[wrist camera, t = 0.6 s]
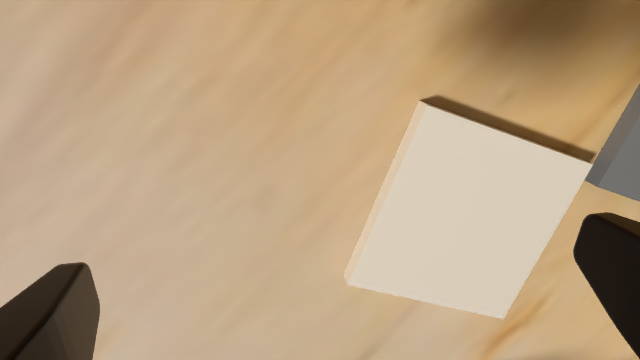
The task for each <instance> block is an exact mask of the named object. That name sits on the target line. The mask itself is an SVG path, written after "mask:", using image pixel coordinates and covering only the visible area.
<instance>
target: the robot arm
mask: <svg viewBox="0 0 640 360" xmlns="http://www.w3.org/2000/svg"><path fill="white" fill-rule="evenodd" d="M573 254H574V259H575V261H576V263H577V265H578V266H579V268H580V270H581V271H582V273H583V274H584V276H585V278H586V279H587V281H588V283H589V284H590V286H591V287H592V289H593V291H594V292H595V294H596V296H597V297H598V299H599V300H600V302H601V304H602V305H603V307H604V308H605V310H606V312H607V313H608V315H609V317H610V318H611V320H612V321H613V323H614V324H615V326H616V327H617V329H618V330H619V332H620V333H621V335H622V336H623V337H624V339H625V340H626V341H627V343H628V344H629V345H630V347H631V348H632V349H633V351H634V352H635V353H636V355H637V356H638V357H639V359H640V222H637V221H634V220H631V219H628V218H625V217H622V216H619V215H616V214H613V213H607V212H606V213H596V214H590V215H588V216H586V217H585V219H584V220H583V222H582V225H581V228H580V231H579V234H578V237H577V240H576V243H575V246H574V249H573ZM99 315H100V304H99V299H98V295H97V291H96V288H95V284H94V281H93V277H92V274H91V270H90V268H89V266H88V265H87V264H86V263H84V262H80V263H69V264H60V265H57V266H56V267H54V268H53V269H52V270H50V271H49V272H48V273H46V274H45V275H44V276H42V277H41V278H40V279H38V280H37V281H36V282H34V283H33V284H32V285H30V286H29V287H28V288H26V289H25V290H24V291H22V292H21V293H20V294H18V295H17V296H15V297H14V298H13V299H11V300H10V301H9V302H7V303H6V304H5V305H3V306H2V307H1V308H0V360H92V359H93V352H94V346H95V340H96V334H97V328H98V322H99Z"/></svg>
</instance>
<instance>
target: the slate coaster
mask: <svg viewBox="0 0 640 360" xmlns="http://www.w3.org/2000/svg"><path fill="white" fill-rule="evenodd" d="M585 181H587V182H589V183H591V184H593V185H595V186H597V187H599V188H602V189H605V190H608V191H611V192H614V193H617V194H620V195H622V196H625V197H628V198H631V199H634V200H637V201H640V85H639V87H638V89H637V90H636V92H635V94H634V95H633V97H632V99H631V101H630V102H629V104H628V106H627V107H626V109H625V111H624V113H623V114H622V116H621V118H620V119H619V121H618V123H617V125H616V126H615V128H614V130H613V131H612V133H611V135H610V137H609V138H608V140H607V142H606V143H605V145H604V147H603V149H602V150H601V152H600V154H599V155H598V157H597V159H596V161H595V162H594V164H593V166H592V167H591V169H590V171H589V173H588V174H587V176H586V178H585Z"/></svg>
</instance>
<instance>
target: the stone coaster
mask: <svg viewBox="0 0 640 360" xmlns="http://www.w3.org/2000/svg"><path fill="white" fill-rule="evenodd" d="M592 166H593V165H592V164H590V163H588V162H586V161H584V160H582V159H580V158H577V157H574V156H572V155H569V154H566V153H563V152H561V151H558V150H555V149H552V148H550V147H547V146H544V145H541V144H539V143H536V142H533V141H530V140H527V139H525V138H522V137H519V136H516V135H514V134H511V133H508V132H505V131H503V130H500V129H497V128H494V127H491V126H489V125H486V124H483V123H480V122H478V121H475V120H472V119H469V118H467V117H464V116H461V115H458V114H455V113H453V112H450V111H447V110H444V109H442V108H439V107H436V106H433V105H431V104H428V103H425V102H422V101H419V102H418V104H417V107H416V109H415V111H414V114H413V116H412V118H411V120H410V123H409V125H408V127H407V130H406V132H405V134H404V137H403V139H402V141H401V143H400V146H399V148H398V150H397V153H396V155H395V157H394V160H393V162H392V164H391V166H390V169H389V171H388V173H387V176H386V178H385V180H384V183H383V185H382V187H381V189H380V192H379V194H378V196H377V199H376V201H375V203H374V206H373V208H372V210H371V212H370V215H369V217H368V219H367V222H366V224H365V226H364V228H363V231H362V233H361V235H360V238H359V240H358V242H357V245H356V247H355V249H354V251H353V254H352V256H351V258H350V261H349V263H348V265H347V268H346V270H345V272H344V277H345V279H346V282H347V284H348V285H350V286H354V287H359V288H364V289H368V290H373V291H377V292H382V293H386V294H391V295H396V296H400V297H405V298H409V299H414V300H418V301H423V302H428V303H432V304H437V305H441V306H446V307H450V308H455V309H460V310H464V311H469V312H473V313H478V314H482V315H487V316H492V317H496V318H501V319H504V317H505V315H506V313H507V312H508V310H509V308H510V306H511V305H512V303H513V301H514V300H515V298H516V296H517V294H518V293H519V291H520V289H521V288H522V286H523V284H524V282H525V281H526V279H527V277H528V276H529V274H530V272H531V270H532V269H533V267H534V265H535V264H536V262H537V260H538V258H539V257H540V255H541V253H542V252H543V250H544V248H545V246H546V245H547V243H548V241H549V240H550V238H551V236H552V234H553V233H554V231H555V229H556V228H557V226H558V224H559V222H560V221H561V219H562V217H563V216H564V214H565V212H566V210H567V209H568V207H569V205H570V204H571V202H572V200H573V198H574V197H575V195H576V193H577V192H578V190H579V188H580V186H581V185H582V183H583V181H584V180H585V178H586V176H587V174H588V173H589V171H590V169H591V167H592Z"/></svg>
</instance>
